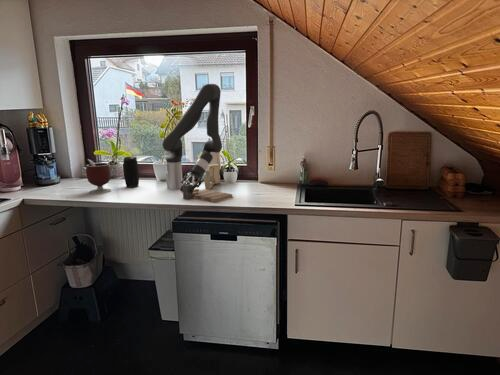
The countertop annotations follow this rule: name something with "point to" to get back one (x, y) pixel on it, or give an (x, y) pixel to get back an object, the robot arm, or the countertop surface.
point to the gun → (212, 176)
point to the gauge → (186, 191)
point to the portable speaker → (131, 172)
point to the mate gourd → (98, 176)
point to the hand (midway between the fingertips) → (185, 191)
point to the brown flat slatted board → (211, 195)
